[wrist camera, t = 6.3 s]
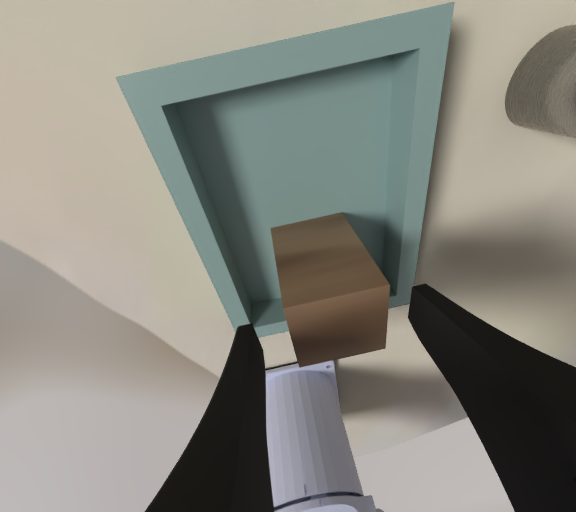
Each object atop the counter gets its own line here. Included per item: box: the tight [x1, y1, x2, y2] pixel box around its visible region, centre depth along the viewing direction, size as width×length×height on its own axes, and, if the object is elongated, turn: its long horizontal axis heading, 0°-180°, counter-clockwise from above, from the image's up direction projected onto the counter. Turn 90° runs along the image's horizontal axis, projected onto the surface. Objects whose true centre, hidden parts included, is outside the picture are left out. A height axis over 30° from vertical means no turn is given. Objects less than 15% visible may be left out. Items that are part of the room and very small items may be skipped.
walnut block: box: [270, 212, 390, 368], centre depth 13 cm, size 4×4×6 cm
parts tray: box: [116, 2, 454, 338], centre depth 14 cm, size 14×11×3 cm
